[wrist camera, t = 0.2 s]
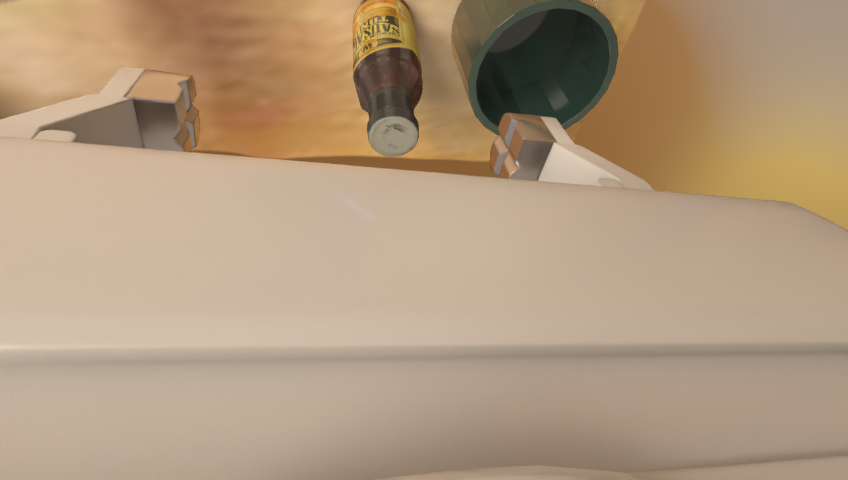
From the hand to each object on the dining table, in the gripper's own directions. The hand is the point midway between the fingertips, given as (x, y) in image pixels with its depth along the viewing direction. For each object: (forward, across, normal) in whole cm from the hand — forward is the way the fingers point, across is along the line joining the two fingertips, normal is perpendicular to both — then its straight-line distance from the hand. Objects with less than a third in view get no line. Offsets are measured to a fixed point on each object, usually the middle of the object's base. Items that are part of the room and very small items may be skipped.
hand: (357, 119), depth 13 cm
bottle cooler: (+40, -20, +8) cm, 46 cm away
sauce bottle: (+41, -5, +10) cm, 42 cm away
